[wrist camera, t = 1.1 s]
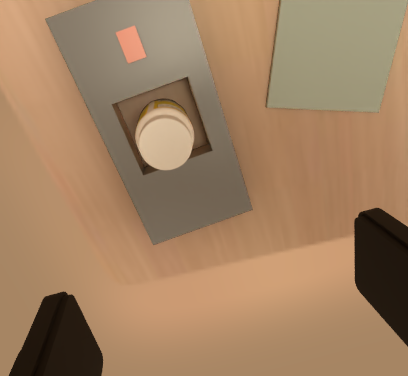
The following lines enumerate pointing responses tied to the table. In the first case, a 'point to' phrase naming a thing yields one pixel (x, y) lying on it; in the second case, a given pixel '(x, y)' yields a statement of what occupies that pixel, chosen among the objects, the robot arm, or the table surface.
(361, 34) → the rubber mat
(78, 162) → the table surface
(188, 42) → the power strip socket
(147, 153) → the supplement bottle
